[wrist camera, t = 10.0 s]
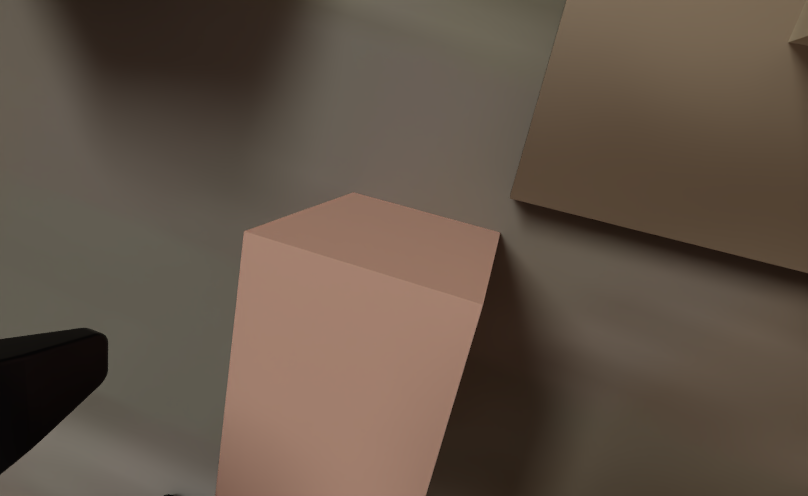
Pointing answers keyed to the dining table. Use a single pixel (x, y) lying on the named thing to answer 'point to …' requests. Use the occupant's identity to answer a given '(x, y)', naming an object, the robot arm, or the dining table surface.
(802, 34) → the birch brick
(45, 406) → the robot arm
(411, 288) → the terracotta brick
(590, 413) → the dining table surface
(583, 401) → the dining table surface
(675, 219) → the walnut board
